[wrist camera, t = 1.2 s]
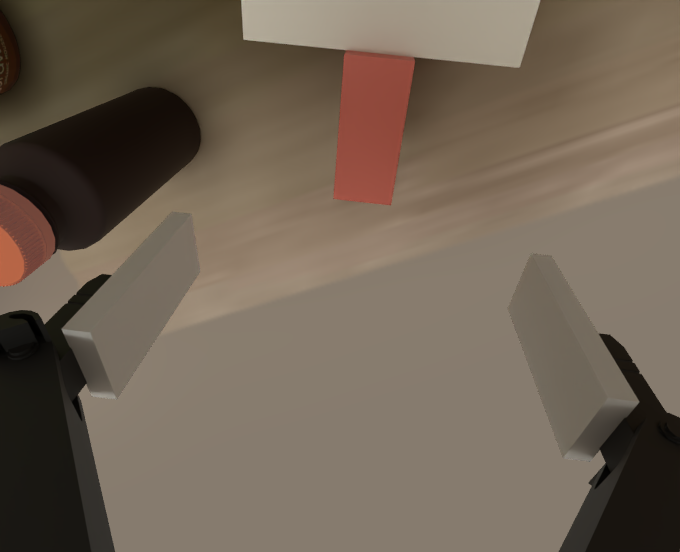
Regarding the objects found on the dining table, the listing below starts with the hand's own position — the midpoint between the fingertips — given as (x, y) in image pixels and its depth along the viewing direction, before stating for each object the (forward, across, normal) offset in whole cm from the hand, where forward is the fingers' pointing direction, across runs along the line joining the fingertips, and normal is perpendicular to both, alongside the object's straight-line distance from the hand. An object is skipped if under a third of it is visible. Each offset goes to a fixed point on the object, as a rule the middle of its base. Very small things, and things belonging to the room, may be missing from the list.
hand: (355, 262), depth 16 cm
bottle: (+22, -18, -3) cm, 28 cm away
